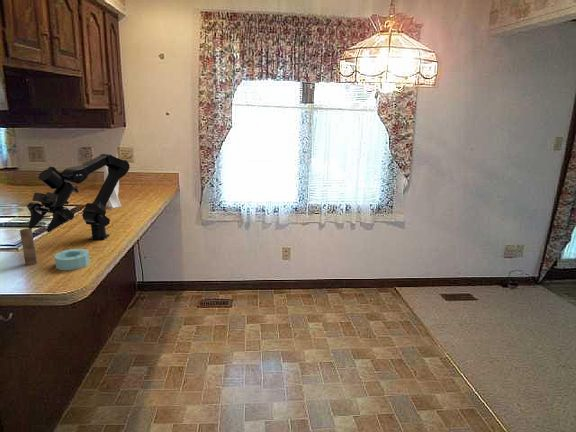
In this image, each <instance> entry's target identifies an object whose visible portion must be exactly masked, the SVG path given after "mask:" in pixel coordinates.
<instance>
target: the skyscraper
mask: <svg viewBox="0 0 576 432" xmlns="http://www.w3.org/2000/svg"><path fill="white" fill-rule="evenodd" d="M103 176H104V177H103V180H104V181H103V182H105V180H106V178H107V176H108V167H107V166H104V172H103ZM119 190H120V180H119V181H118V183H117V185H116V186H115V188H114V190H113V192H112V194H111V196H110V198H109V200H108V202H107V204H106V206H105V208H106V209H107V210H114V209H118V208H122V205H121V202H120V199H119Z"/></svg>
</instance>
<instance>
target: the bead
mask: <svg viewBox="0 0 576 432" xmlns="http://www.w3.org/2000/svg"><path fill="white" fill-rule="evenodd" d="M54 262H55V263H54V264H55V269H56V270H57V269H58V270H60V271H74V270H79V269H82V268H85V267H87V266H89V265H90V264H91V260H90V253H89V250H87V249H85V248H73V249H65V250H62V251H59V252H58V253H56V254H54Z"/></svg>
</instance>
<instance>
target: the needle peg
mask: <svg viewBox="0 0 576 432" xmlns="http://www.w3.org/2000/svg"><path fill="white" fill-rule="evenodd" d="M32 229H33V228H32ZM32 229H29V228H23V229H20V230H19V234H20V238H21V240H20V241H21V246H22V251H23V257H24V262H25V265H26V266H33V265H35V264H37V263H38V261H37V260H38V259H37V253H36V248H35V247H36V246H35V241H34V236H33V230H32Z"/></svg>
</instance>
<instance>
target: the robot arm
mask: <svg viewBox="0 0 576 432" xmlns="http://www.w3.org/2000/svg"><path fill="white" fill-rule="evenodd" d="M105 166H107V167H108V176H107V178H106V180H105V181H103V183H102V186H101V187H100V189H99V191H98V192H97V194H96V197H95V199H94V200H93V202H91V203H90V202H87V203H86V204H85V207H84V209H82V214H81V216H82V219H83V220H84V222H85V224H86V225H89V226H90V228H91V236H90V237H89V238H88V240H94V241H96V240H97V241H98V240H99V241H101V240H103V241H104V240H105V239H107V238H108V237H110V234H109V233H107V229H106V227H107V226H108V225H110V224H111V223H110V221H111V219H110V218H109V217H107V216H106V213H107V210H106V209H107V208H105V206H106V205H108V200H109V198H110V196H111V194H112V192H113V190H114V188H115V186H116V185H117V183H118V181H119V182H120V179H122V178H123V177H125V176H126V175H127V174H128V172H129V170H130V168H131V167H130V164H129V161H127V160H125V159H121V158H118V157H116V156H114V155H112V154H108V153H102V154H100V155H99V156H96V157H95V158H92V159H91V160H89V161H86V162H85V163H83V164H80V165H76V166H71V167H66V168H65V169H64V170H63V171H61V172H59V170H57V168H56V167H54V166H48V168H45V169H44V170H43V171H40V173H39V174H38V180H39V181H41V182H42V183H43V184H44V185H45V186H47V187H48V188H49V189H52V190H53V192H50V191H49V192H48V191H47V192H46V193H41V192H34V193H33V197H32V199H31V202H29V203H28V204H27V206H26V208H27V210H28V211H29V213H30V217H29V218H30V219H29V223H28V228H27V229H33V228H35V227H36V226H37V224H39V223H40V222H41V221H42V220H43V219H44V218H45V215H47V213H48V214H52V219H51V221H50V223H49V224H48V225H47V227H46V231H45V232H47V233H50V232H52V231H54V230H55V229H57V228H58V227H60V226H62V225H63V224H65V223H67V222H69V221H73V220H74V218H75V212H73V211H71V210H70V209H69V208H68V207H67V206H65V205H69V203H70V202H69V201H68V200H69V198H70V197H71V195H72V194H73V193H76V194H77V193H79V188H78V184H82V183H83V182H84V181H85V180H87V179H88V177H89V175H91V174H92V173H94V172H96V171H98V170H100V169H101V168H103V167H105ZM73 184H77V185H73Z"/></svg>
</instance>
